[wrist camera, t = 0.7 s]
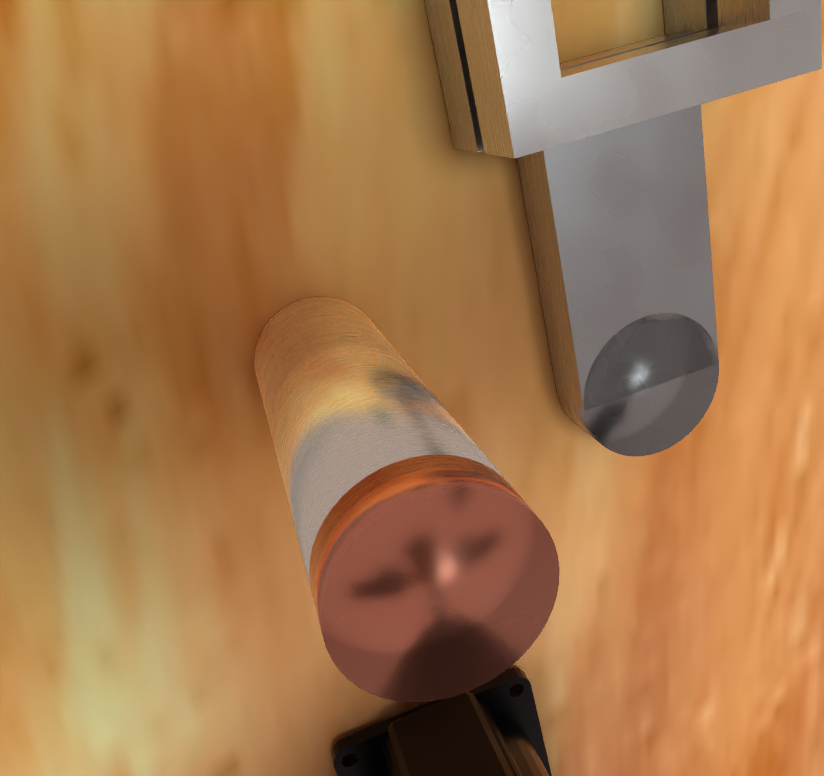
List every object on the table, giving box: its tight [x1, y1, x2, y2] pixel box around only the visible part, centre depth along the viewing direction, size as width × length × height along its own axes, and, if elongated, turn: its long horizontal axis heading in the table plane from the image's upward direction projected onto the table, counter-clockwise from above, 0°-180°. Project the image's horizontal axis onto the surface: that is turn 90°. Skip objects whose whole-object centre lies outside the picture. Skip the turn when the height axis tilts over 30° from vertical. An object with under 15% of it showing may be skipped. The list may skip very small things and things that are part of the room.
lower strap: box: [424, 0, 719, 456], centre depth 18 cm, size 16×7×2 cm, turn 14°
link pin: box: [254, 297, 559, 702], centre depth 14 cm, size 3×3×10 cm
